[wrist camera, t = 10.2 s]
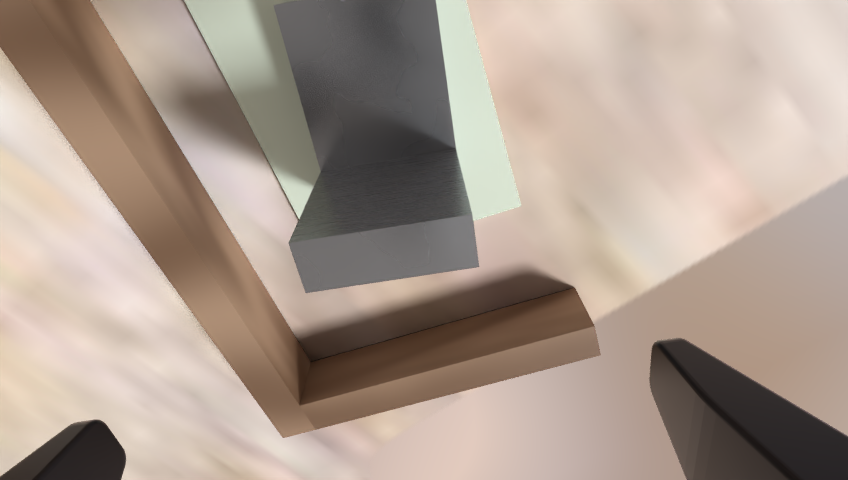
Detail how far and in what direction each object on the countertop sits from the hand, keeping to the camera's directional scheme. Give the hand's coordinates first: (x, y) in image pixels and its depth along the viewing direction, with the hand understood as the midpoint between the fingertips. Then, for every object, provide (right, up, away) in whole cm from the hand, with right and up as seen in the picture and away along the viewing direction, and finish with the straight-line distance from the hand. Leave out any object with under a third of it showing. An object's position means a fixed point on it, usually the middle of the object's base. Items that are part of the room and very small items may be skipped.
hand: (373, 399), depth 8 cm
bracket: (-1, +7, +8) cm, 11 cm away
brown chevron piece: (-2, +6, +9) cm, 11 cm away
